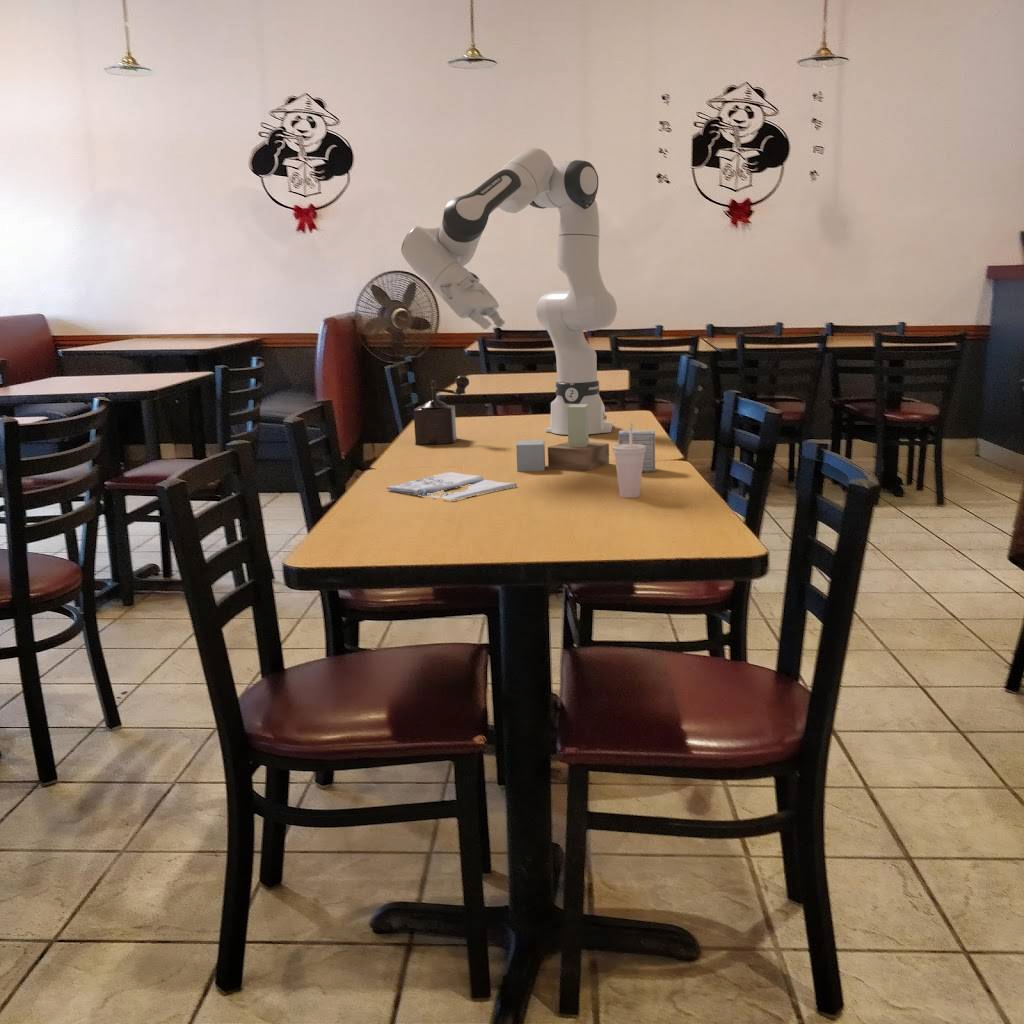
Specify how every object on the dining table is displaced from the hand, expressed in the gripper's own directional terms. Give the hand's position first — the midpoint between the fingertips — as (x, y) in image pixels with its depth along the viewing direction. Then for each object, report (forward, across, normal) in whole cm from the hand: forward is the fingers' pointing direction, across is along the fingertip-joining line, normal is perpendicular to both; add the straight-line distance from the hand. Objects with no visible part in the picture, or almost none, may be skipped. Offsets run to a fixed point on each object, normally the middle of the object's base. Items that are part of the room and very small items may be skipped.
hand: (495, 326), depth 223 cm
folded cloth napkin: (+24, -36, +21) cm, 48 cm away
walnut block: (+37, -6, +8) cm, 39 cm away
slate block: (+30, -11, +14) cm, 35 cm away
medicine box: (+47, -10, -3) cm, 48 cm away
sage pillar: (+34, -6, +4) cm, 35 cm away
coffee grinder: (+5, +24, +40) cm, 47 cm away
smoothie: (+50, -36, -6) cm, 62 cm away
